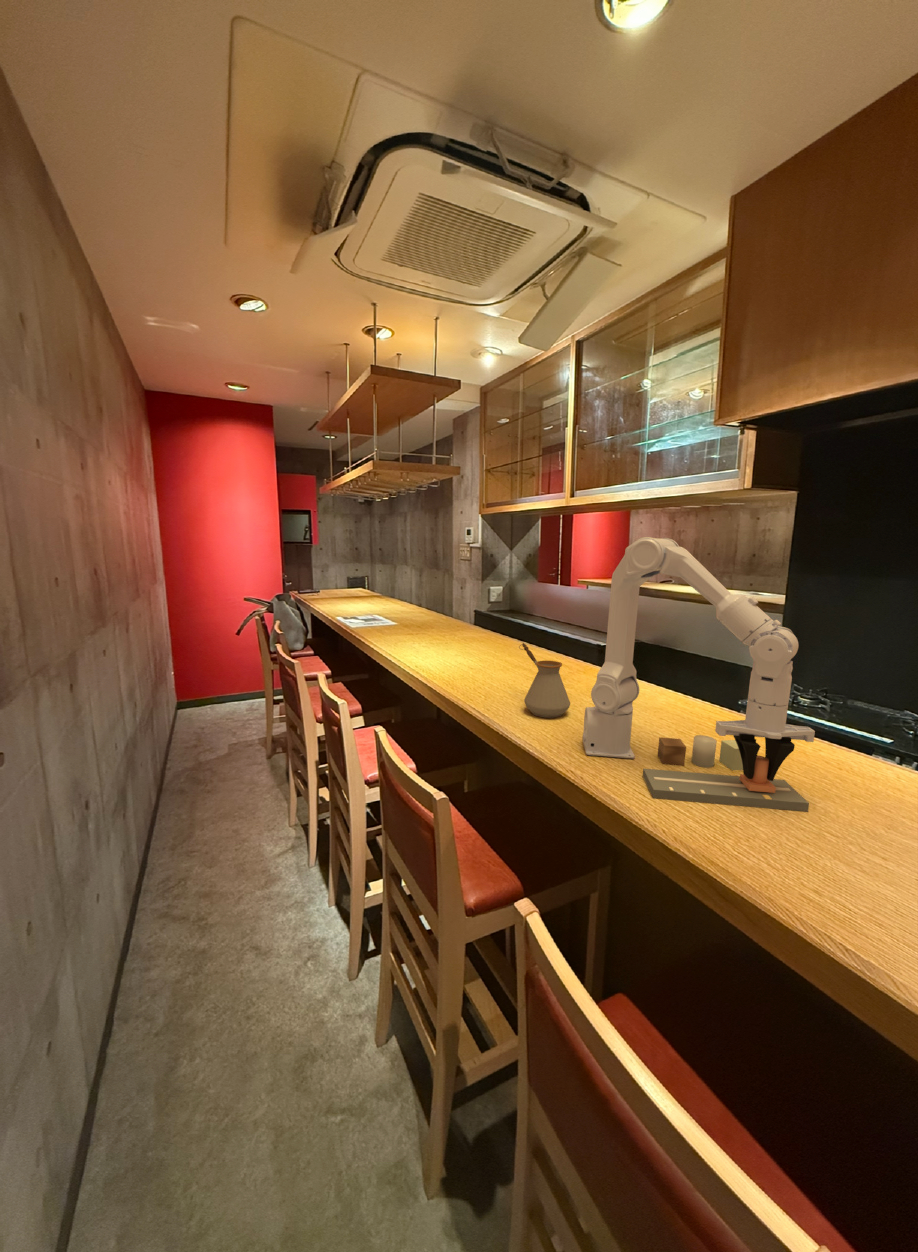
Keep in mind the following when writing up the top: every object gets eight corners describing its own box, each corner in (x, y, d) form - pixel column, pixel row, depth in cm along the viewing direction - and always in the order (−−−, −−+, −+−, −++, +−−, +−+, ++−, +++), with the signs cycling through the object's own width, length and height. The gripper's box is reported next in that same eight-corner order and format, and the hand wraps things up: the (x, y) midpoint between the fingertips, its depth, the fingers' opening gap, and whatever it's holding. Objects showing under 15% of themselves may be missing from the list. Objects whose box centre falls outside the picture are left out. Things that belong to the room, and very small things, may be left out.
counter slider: (749, 790, 82) (752, 762, 81) (739, 779, 86) (742, 752, 85) (775, 792, 81) (778, 764, 80) (764, 781, 85) (767, 754, 84)
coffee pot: (578, 718, 120) (582, 658, 117) (536, 722, 116) (539, 661, 114) (538, 692, 140) (540, 641, 137) (501, 696, 136) (503, 643, 134)
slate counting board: (652, 797, 82) (653, 788, 82) (642, 776, 90) (643, 767, 90) (807, 811, 79) (809, 802, 79) (783, 787, 87) (784, 778, 86)
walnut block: (662, 764, 95) (664, 745, 95) (657, 756, 99) (659, 737, 99) (684, 766, 95) (686, 746, 94) (678, 757, 99) (680, 738, 98)
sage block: (732, 771, 93) (735, 748, 92) (719, 761, 97) (721, 740, 96) (751, 770, 94) (754, 748, 93) (737, 761, 97) (740, 739, 97)
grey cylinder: (695, 766, 94) (697, 742, 94) (688, 758, 98) (691, 734, 98) (717, 768, 94) (719, 744, 93) (709, 759, 98) (712, 736, 97)
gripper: (730, 705, 78) (721, 784, 80) (830, 711, 76) (817, 792, 78) (714, 692, 85) (706, 765, 87) (805, 697, 83) (795, 772, 85)
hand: (757, 777), depth 83 cm, fingers closed on counter slider, 3 cm apart
